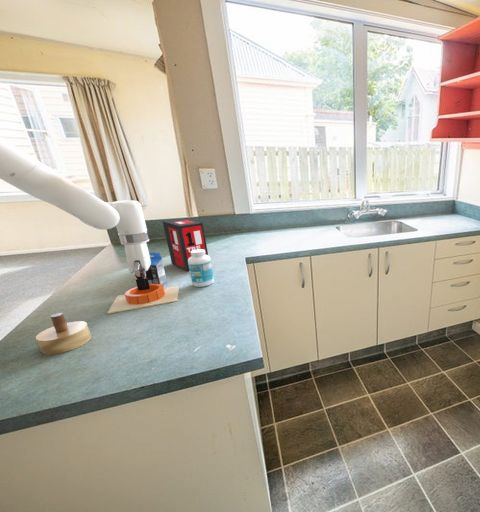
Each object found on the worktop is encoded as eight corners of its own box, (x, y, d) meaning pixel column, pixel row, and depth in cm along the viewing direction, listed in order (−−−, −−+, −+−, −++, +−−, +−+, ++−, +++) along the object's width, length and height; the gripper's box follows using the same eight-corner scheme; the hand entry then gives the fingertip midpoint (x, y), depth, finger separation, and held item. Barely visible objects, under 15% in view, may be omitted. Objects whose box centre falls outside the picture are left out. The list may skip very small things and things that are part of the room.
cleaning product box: (172, 264, 136) (162, 221, 130) (192, 259, 143) (184, 218, 137) (189, 271, 127) (179, 226, 121) (210, 266, 134) (202, 222, 128)
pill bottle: (187, 285, 113) (180, 252, 109) (204, 279, 120) (198, 247, 116) (202, 288, 111) (196, 254, 107) (219, 281, 117) (213, 249, 113)
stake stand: (33, 359, 71) (21, 328, 69) (50, 339, 79) (39, 311, 76) (85, 347, 76) (75, 318, 73) (95, 330, 83) (87, 303, 81)
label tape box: (137, 285, 112) (129, 255, 109) (145, 281, 116) (138, 251, 113) (160, 286, 112) (153, 255, 109) (168, 282, 116) (161, 252, 113)
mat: (107, 314, 92) (107, 312, 92) (118, 296, 103) (117, 295, 103) (176, 301, 101) (176, 300, 101) (179, 286, 112) (179, 285, 112)
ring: (124, 307, 95) (121, 298, 95) (131, 294, 104) (128, 287, 103) (162, 300, 100) (160, 292, 99) (166, 289, 109) (164, 281, 108)
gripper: (125, 233, 105) (137, 278, 110) (113, 245, 90) (127, 296, 96) (152, 231, 108) (162, 274, 114) (144, 242, 94) (156, 291, 99)
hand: (146, 284), depth 105 cm, fingers open, 9 cm apart
